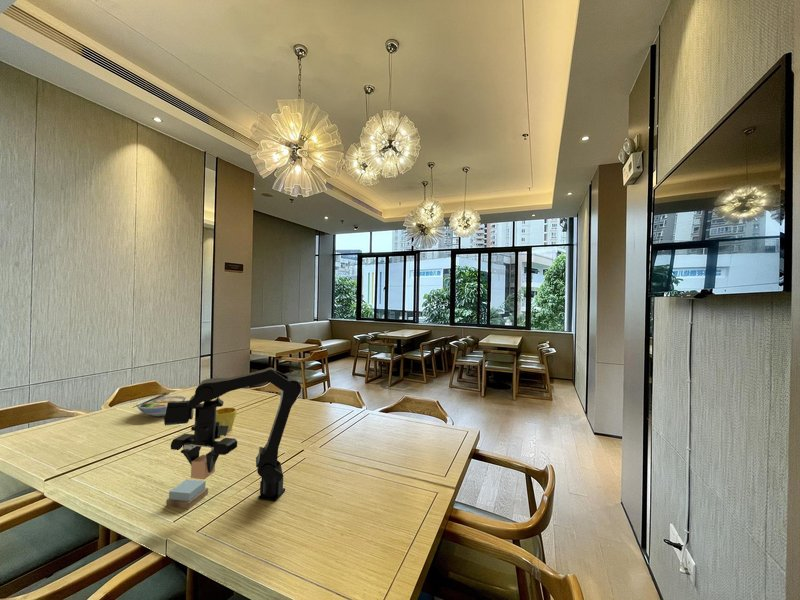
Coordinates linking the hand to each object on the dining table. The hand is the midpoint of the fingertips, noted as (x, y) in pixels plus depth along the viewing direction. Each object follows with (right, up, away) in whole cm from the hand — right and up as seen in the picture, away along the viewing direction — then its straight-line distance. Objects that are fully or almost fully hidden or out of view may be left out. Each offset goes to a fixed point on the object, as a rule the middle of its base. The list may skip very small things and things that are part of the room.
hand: (203, 471), depth 100 cm
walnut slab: (-8, -12, +4) cm, 15 cm away
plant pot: (-26, -12, +60) cm, 67 cm away
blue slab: (-8, -10, +4) cm, 13 cm away
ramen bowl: (-72, -11, +79) cm, 108 cm away
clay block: (0, -1, 0) cm, 1 cm away
